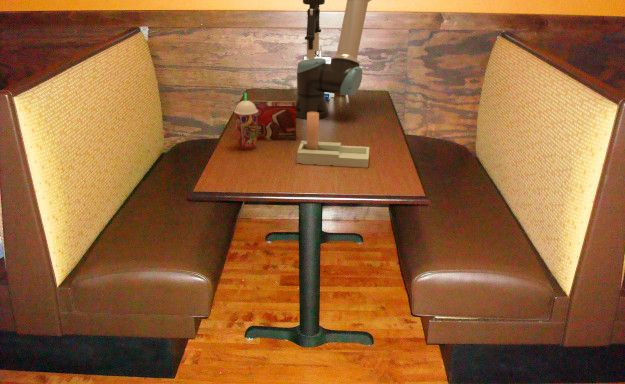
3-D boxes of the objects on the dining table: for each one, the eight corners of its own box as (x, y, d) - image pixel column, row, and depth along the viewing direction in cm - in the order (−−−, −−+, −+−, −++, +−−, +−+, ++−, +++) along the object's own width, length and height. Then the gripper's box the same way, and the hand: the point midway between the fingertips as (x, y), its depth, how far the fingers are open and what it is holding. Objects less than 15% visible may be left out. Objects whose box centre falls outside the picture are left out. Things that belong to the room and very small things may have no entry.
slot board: (301, 151, 208) (301, 140, 207) (368, 155, 206) (369, 144, 205) (297, 163, 198) (297, 152, 196) (368, 167, 195) (368, 156, 194)
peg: (304, 151, 205) (304, 110, 199) (322, 152, 205) (323, 111, 199) (301, 157, 200) (302, 115, 194) (320, 158, 199) (321, 116, 193)
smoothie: (255, 152, 207) (253, 97, 198) (232, 150, 208) (230, 95, 200) (261, 144, 214) (260, 90, 206) (239, 142, 216) (237, 89, 207)
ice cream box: (295, 134, 225) (295, 101, 219) (295, 140, 219) (296, 106, 213) (243, 134, 224) (242, 100, 219) (242, 140, 218) (241, 105, 213)
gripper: (321, -4, 186) (319, 62, 195) (328, -12, 209) (326, 48, 218) (298, -5, 187) (297, 61, 196) (307, -12, 210) (306, 47, 218)
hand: (312, 54), depth 207 cm, fingers open, 13 cm apart
